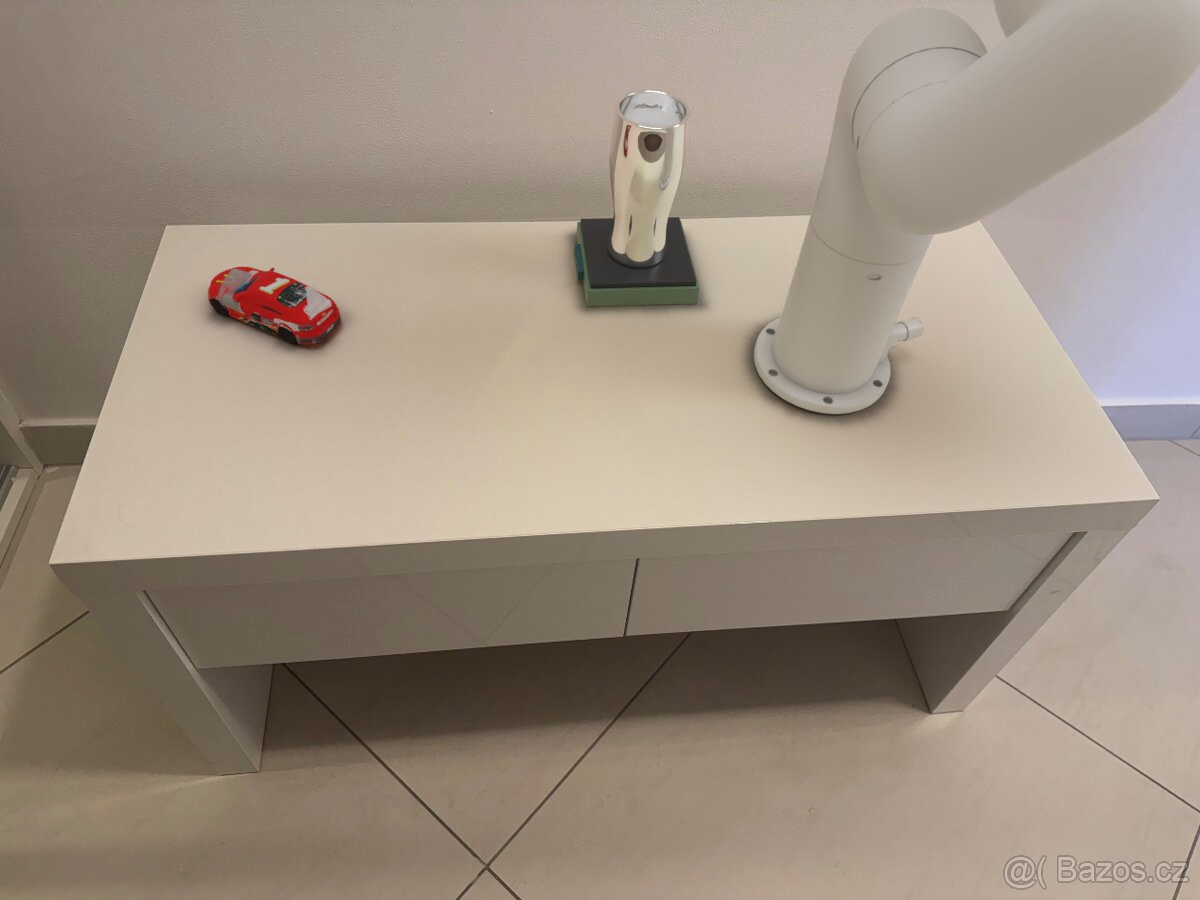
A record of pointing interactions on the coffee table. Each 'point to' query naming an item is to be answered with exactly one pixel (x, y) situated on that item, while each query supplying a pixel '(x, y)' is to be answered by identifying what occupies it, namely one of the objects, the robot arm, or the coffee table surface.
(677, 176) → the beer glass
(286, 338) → the race car
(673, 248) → the scale
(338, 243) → the coffee table surface
